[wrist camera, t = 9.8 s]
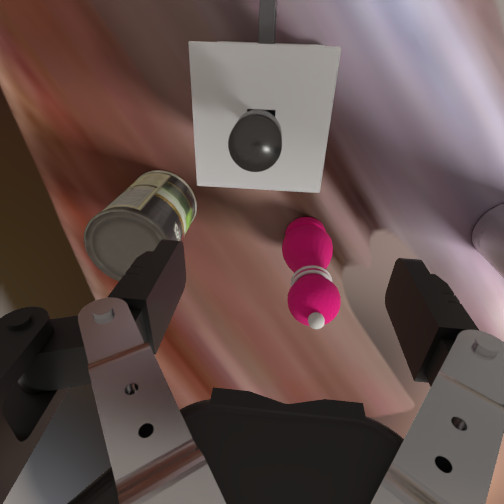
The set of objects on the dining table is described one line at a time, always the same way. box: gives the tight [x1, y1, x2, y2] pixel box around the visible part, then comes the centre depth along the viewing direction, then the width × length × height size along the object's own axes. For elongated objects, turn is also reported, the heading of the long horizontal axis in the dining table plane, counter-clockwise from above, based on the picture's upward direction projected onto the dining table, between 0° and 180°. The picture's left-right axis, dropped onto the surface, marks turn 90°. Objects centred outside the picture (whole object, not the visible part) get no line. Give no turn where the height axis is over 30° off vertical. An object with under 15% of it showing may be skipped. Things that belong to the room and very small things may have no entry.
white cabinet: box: [188, 0, 341, 193], centre depth 34 cm, size 12×16×16 cm
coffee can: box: [84, 170, 197, 281], centre depth 44 cm, size 10×10×14 cm
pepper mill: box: [282, 217, 340, 329], centre depth 43 cm, size 7×7×20 cm
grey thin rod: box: [228, 109, 282, 172], centre depth 31 cm, size 9×9×22 cm
